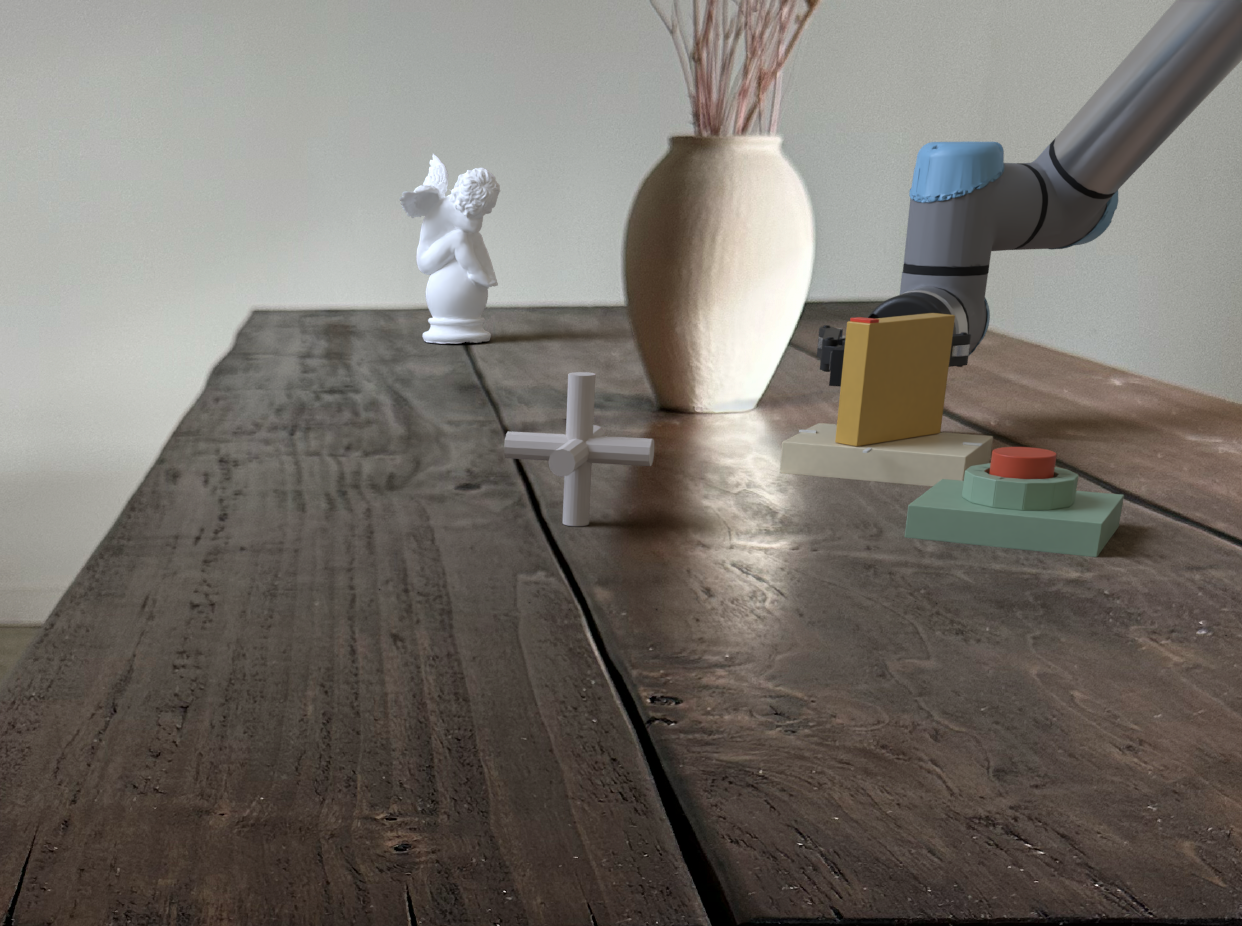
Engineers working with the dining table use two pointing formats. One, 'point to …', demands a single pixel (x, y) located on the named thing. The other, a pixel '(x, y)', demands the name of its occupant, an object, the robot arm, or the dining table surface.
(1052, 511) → the button box
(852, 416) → the tan flat block
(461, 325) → the cherub figurine
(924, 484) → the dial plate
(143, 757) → the dining table surface
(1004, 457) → the button
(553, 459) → the pipe connector
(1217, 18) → the robot arm
